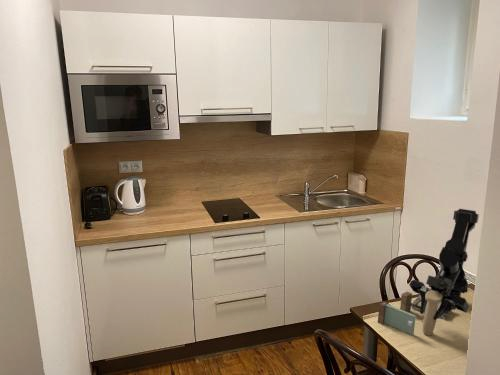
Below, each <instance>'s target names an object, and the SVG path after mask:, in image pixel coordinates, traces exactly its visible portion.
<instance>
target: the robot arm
mask: <svg viewBox="0 0 500 375" xmlns="http://www.w3.org/2000/svg"><path fill="white" fill-rule="evenodd" d="M479 215H480V214H479V213H477V211H476V210H471V209H467V208H466V209H465V208H458V209H457V210H454V211H453V217H452V219H453V220H454V222H455V224H454V228H453V230H452V231H453V232H452V234H451V237H450V239H448V240H447V241H446V242H445V244H444V246H443V247H442V248H441V250H440V253H439V257H438V261H439V262H438V263H439V266H440V270H439V271H438V273H436V274H435V276H433V275H428V277H427V279H426V282H425V284H424V282H422V281H420V280H416V279H412V280H411V281H410V282H409V287H410V288H411V290H412V291H413V292H414V293H417V294H418V295H421V300H420V307H421V309H420V312H419V314H421V315H423V314H424V313H425V312H424V311H425V309H426V305H427V300H426V299H425V294H426V292H427V291H431V290H433V291H437V292H439V293H441V294H442V300H441V305H440V307H437V312H436V314H435V316H434V320H436V321H437V320H438V319H439V318H441V317H440V316H442V315H443V314H444V313H446V312H448V311H450V310H452V311H455V310H456V309H457V310H458V311H460V312H463V313H467V312H468V310H469V309H470V307H469V306H470V305H469V303H468V301H467V300H466V298H465V297H462V294H465V293H468V290H469V289H468V288H469V282H468V281H467V280H468V279H467V278H466V276H467V275H466V273H465V270H464V268H463V267H464V264H465V262H467V261H468V258H469V256H468V252H467V247H468V242H469V236H470V233H471V232H472V230H474V229H475V227H476V224H478V222H479V217H480V216H479ZM426 285H428V287H427V286H426Z"/></svg>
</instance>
